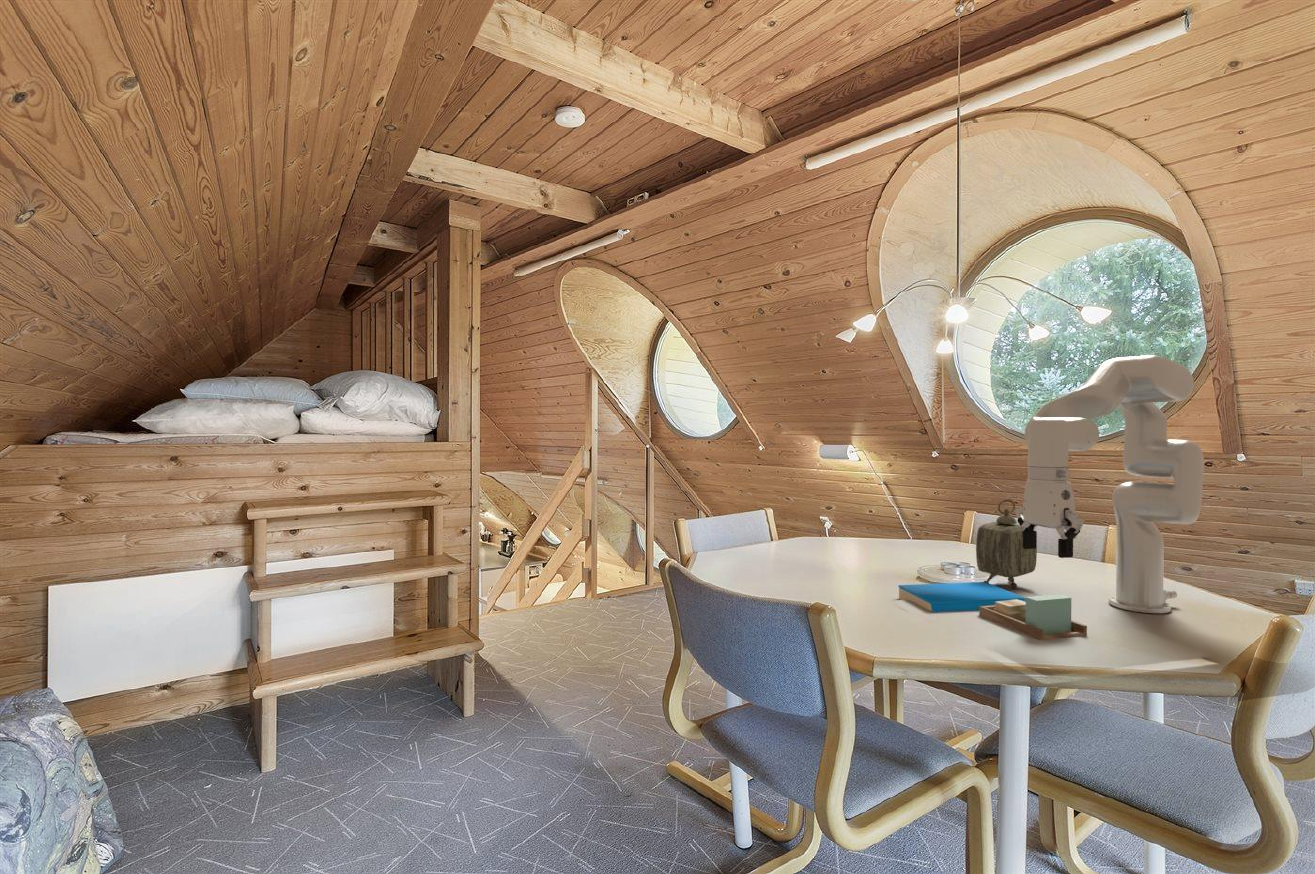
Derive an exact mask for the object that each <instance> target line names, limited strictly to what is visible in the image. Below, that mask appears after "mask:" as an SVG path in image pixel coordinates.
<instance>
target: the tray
mask: <svg viewBox="0 0 1315 874" xmlns="http://www.w3.org/2000/svg"><path fill="white" fill-rule="evenodd" d="M994 609H995V605H991V606H979V610H978V611H979V614H978V615H979V616H981V617H983V618H985V619H988V620H991V621H993V622H995V623H998V624H999V625H1000V624H1001V625H1003V626H1005V627H1008V628H1010V629H1012V630H1015V631H1016V632H1019V633H1022V634H1024V635H1027V636H1030V637H1032V638H1034V639H1037V640H1039V641H1042V640H1052V639H1062V638H1063V639H1064V638H1072V637H1073V638H1075V637H1082V636H1083V637H1084V636H1087V635H1088V626H1087V625H1086V624H1082V623H1080V622H1077V621H1074V620H1072V619H1071V632H1065V633H1054V634H1044V635H1043V630H1042V629H1039V628H1037V627H1034V626H1032V625H1029V624H1027V623H1026V620H1024V621H1019V620H1016V619H1014V618H1011V617H1009V616H1006V615H1003V614H1001V613H998V612H996V611H994Z"/></svg>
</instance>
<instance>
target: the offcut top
mask: <svg viewBox="0 0 1315 874" xmlns="http://www.w3.org/2000/svg"><path fill="white" fill-rule="evenodd" d="M995 609H996V610H999V611H1002V612H1004V613H1007V614H1017V613H1025V612H1026V602H1024V601H1021V600H1018V599H1015V600H1006V601H997V602H995Z"/></svg>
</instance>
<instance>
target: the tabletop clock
mask: <svg viewBox="0 0 1315 874" xmlns="http://www.w3.org/2000/svg"><path fill="white" fill-rule="evenodd" d="M1006 502H1010V503H1011V504H1012V506H1013V507H1012V508H1011V510H1009V509H1008V508H1005V509H1004V510H1001V509H1000V507H1001V506H1002V505H1003V503H1006ZM1015 510H1016V504H1015V501H1013V500H1012V499H1009V498H1005V499H1003V500H1002V499H1001V501H1000V502H999V503H998V505H997V511H998V512H999V513H1000V514H1001V515H999V516H998V517H997V518H996V521H992V522H988V523H984V524H982V525H980V526H979V527H978V529H977V533H976V541H975V542H976V543H975V544H976V545H975V553H976V555H975V556H976V565H977V569H978V571H980V572H983V573H986V574H990V575H989V576H988V578H987V580H983V582H986V583H989V584H990V581H991V580H992V579H993V578H994V577H996V576H999V577H1003V578H1007V580H1008V582H1009V583H1010V588H1012V589H1016V588H1018V584H1017V583H1016V582H1015V578H1017V577H1021V576H1024V575H1028V574H1030V573H1033V572H1034V571H1035V570H1036V568H1037V567H1036V566H1037V560H1038V559H1037V558H1038V557H1037V554H1038V550H1037V549H1038V548H1035V549H1024V548H1023V531H1022V530H1021V529H1020V527H1021V526H1020V524H1018V521H1017V519H1016V518H1015V517H1014V516H1012V515H1010V514H1011V513H1014V512H1015Z"/></svg>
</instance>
